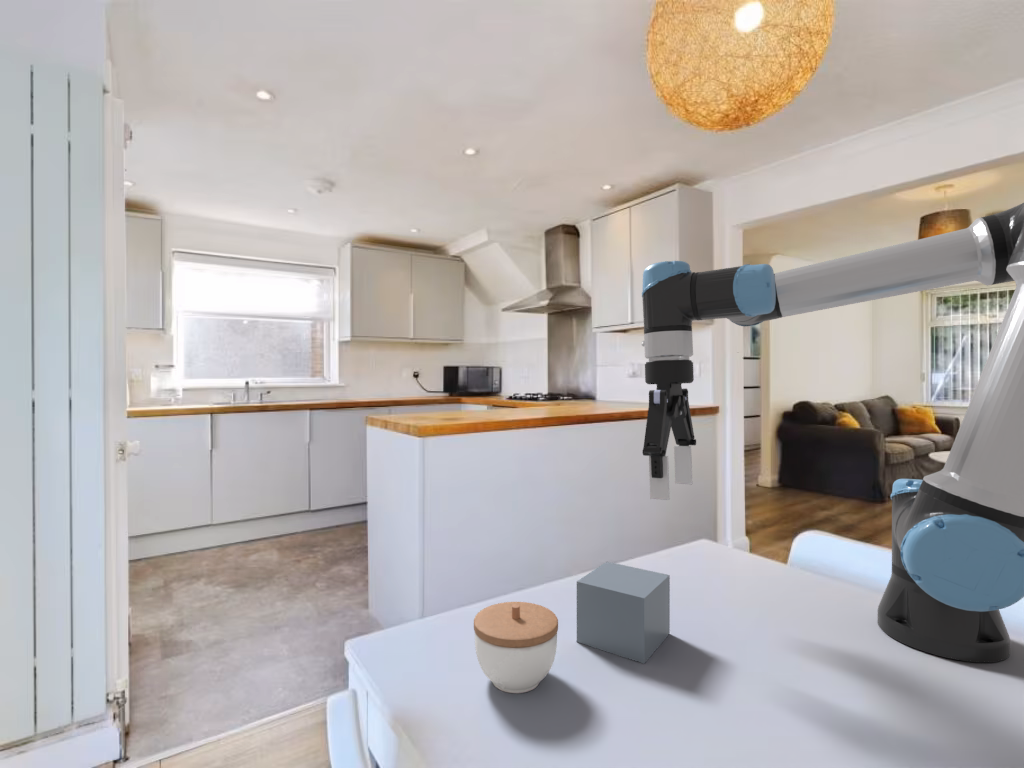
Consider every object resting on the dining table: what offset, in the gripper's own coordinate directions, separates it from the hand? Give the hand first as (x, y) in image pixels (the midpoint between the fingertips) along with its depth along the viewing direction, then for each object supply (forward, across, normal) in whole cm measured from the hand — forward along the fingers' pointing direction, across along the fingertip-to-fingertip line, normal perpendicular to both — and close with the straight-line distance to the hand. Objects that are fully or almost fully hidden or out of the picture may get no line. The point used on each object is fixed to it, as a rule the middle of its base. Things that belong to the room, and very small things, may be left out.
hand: (672, 491), depth 85 cm
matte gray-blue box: (+20, +12, -4) cm, 23 cm away
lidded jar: (+20, +29, -12) cm, 37 cm away
